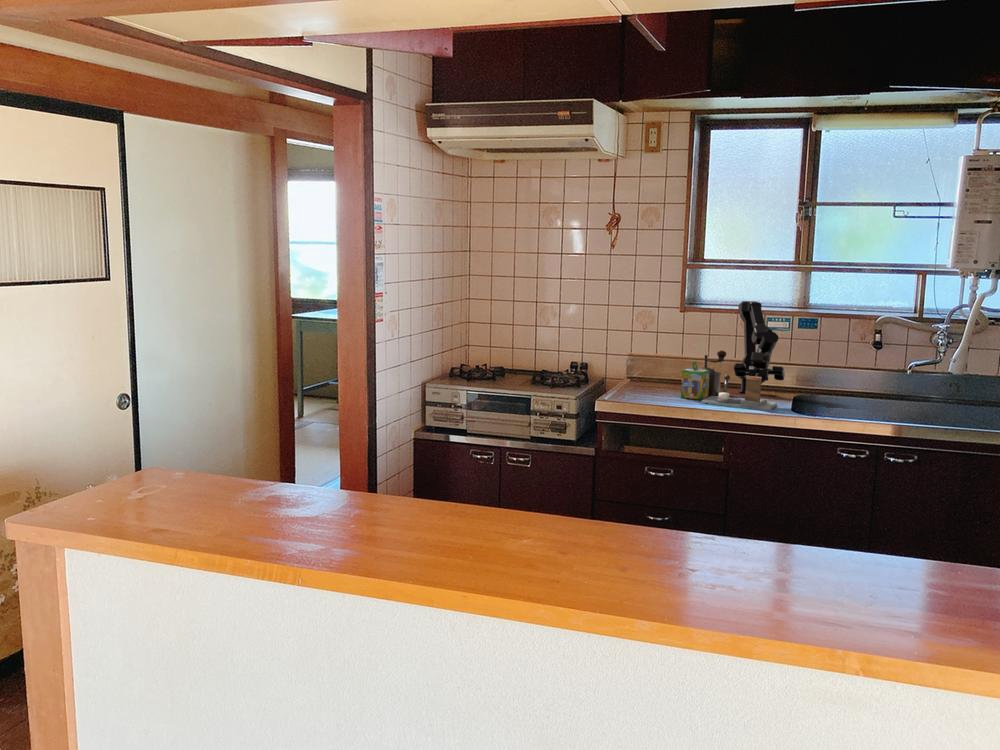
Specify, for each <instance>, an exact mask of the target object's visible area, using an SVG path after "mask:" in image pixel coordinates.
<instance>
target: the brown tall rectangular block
mask: <svg viewBox="0 0 1000 750" xmlns="http://www.w3.org/2000/svg"><path fill="white" fill-rule="evenodd" d="M746 376H747V377H746V391H745V393H744V399H745V400H746V401H755V402H759V403H760V401H761V391H762V389H761V388H762V384H761V379H762V377H754V376H749V375H746Z"/></svg>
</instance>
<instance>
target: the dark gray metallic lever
mask: <svg viewBox="0 0 1000 750" xmlns="http://www.w3.org/2000/svg"><path fill="white" fill-rule="evenodd" d="M730 379H731V376H730V375H729V374H726V375H724V386H723V391H722V392H724V393H727V389H728V383H729V381H730Z"/></svg>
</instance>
